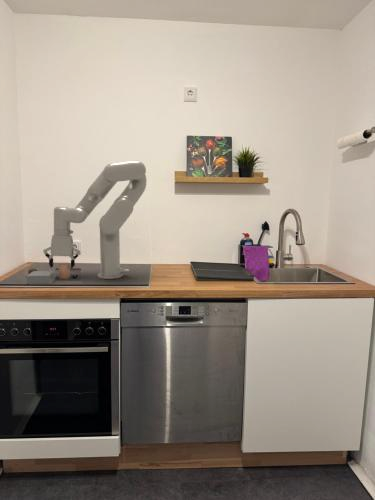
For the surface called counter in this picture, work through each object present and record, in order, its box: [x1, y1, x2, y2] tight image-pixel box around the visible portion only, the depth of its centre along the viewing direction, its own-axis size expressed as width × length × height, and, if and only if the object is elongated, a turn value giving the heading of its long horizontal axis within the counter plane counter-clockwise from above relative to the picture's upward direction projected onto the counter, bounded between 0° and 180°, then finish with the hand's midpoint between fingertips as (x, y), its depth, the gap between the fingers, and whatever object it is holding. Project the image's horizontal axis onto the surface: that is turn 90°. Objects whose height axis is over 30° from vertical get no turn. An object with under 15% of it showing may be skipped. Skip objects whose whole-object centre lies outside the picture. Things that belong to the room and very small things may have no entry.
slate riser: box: [26, 270, 56, 285], centre depth 165 cm, size 10×10×4 cm
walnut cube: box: [27, 267, 38, 275], centre depth 174 cm, size 4×4×4 cm
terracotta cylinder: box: [58, 262, 71, 280], centre depth 172 cm, size 5×5×7 cm
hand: (61, 267), depth 172 cm, fingers open, 9 cm apart
